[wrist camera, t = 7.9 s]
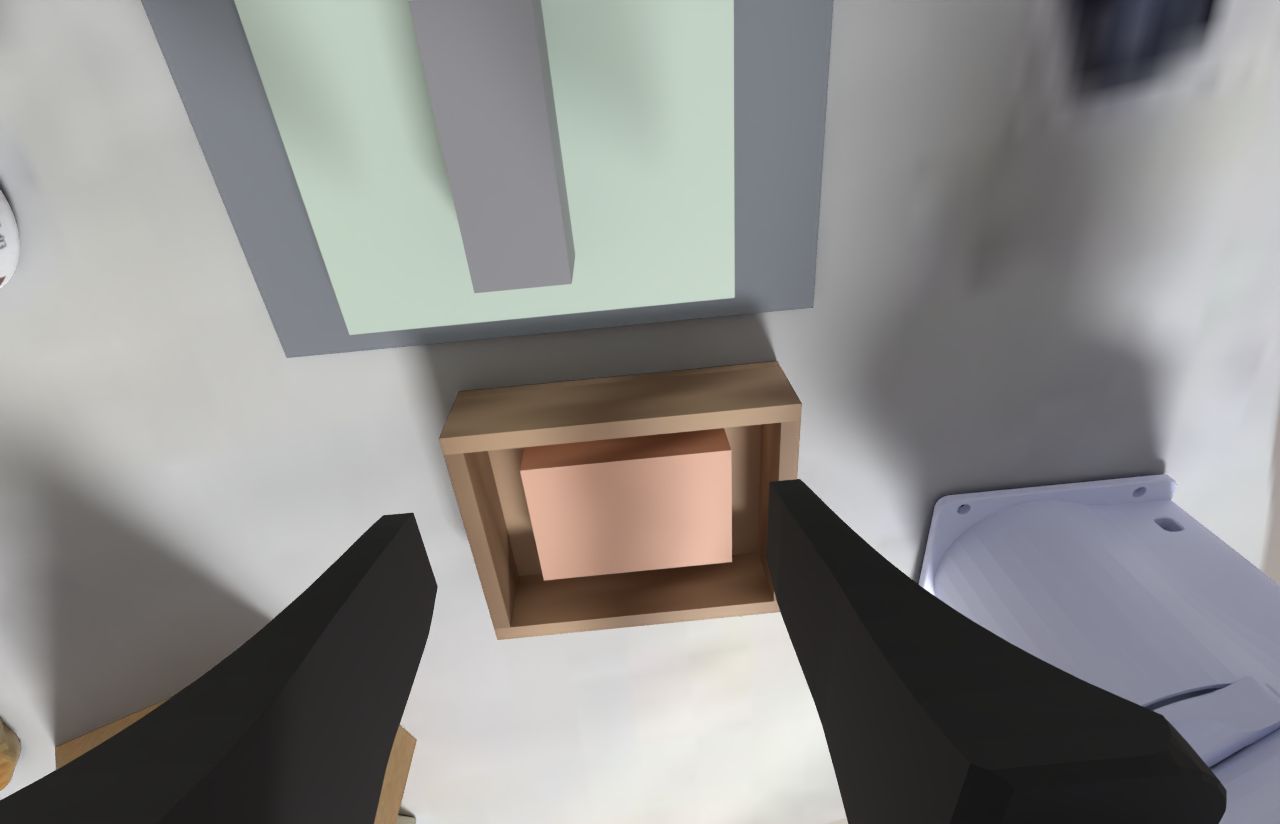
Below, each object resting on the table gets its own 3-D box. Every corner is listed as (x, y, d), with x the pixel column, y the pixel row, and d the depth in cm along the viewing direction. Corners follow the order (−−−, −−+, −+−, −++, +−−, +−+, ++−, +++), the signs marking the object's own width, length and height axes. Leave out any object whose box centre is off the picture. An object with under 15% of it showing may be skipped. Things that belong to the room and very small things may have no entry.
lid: (722, -100, 15) (759, -146, 11) (727, 283, 19) (752, 330, 16) (241, -56, 14) (136, -89, 11) (364, 318, 19) (315, 373, 16)
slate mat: (840, -192, 14) (846, -199, 14) (809, 303, 20) (813, 307, 20) (100, -126, 14) (87, -130, 14) (292, 352, 20) (286, 358, 20)
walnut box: (777, 361, 21) (801, 403, 19) (770, 555, 26) (788, 611, 23) (458, 391, 21) (438, 438, 19) (507, 581, 26) (497, 640, 23)
